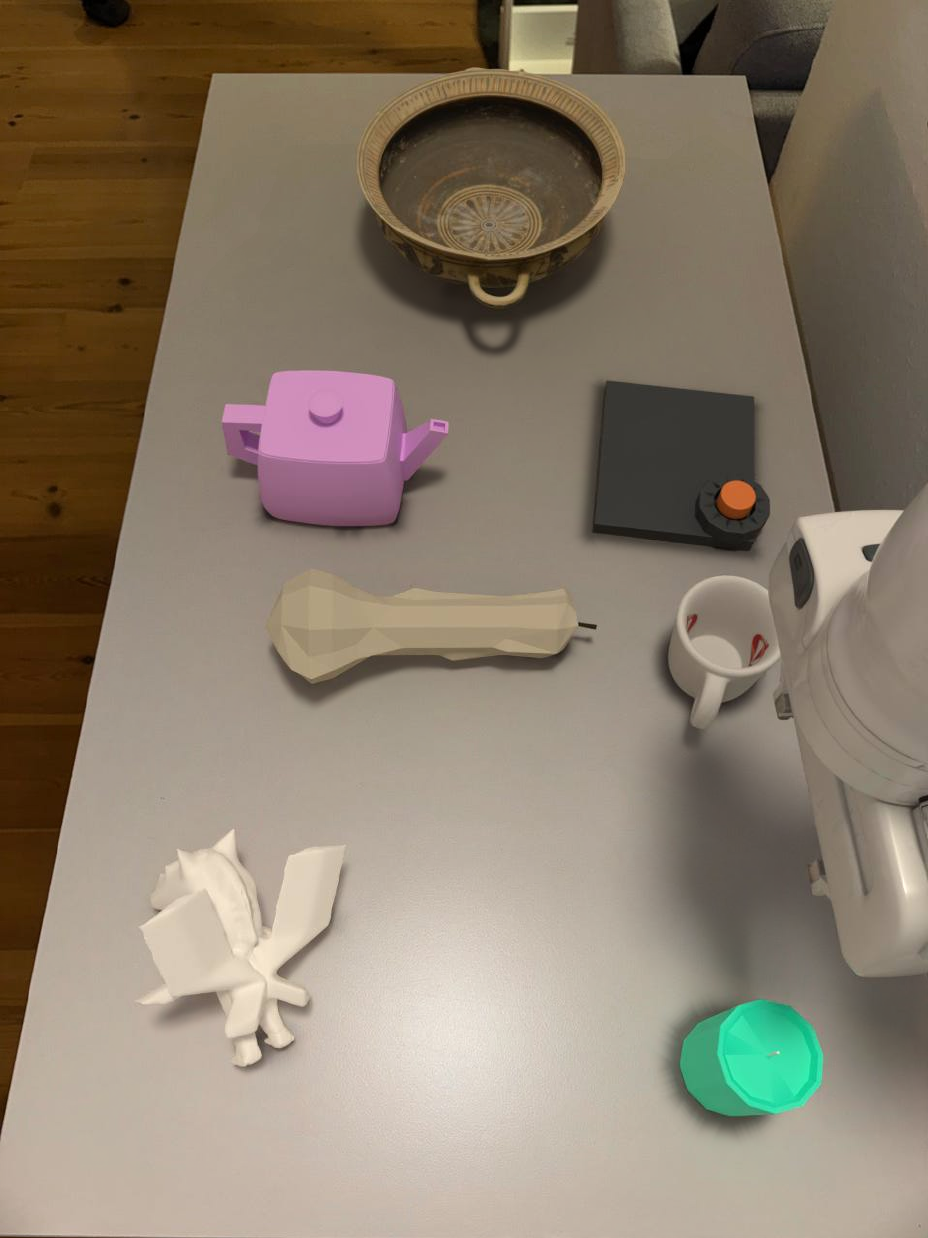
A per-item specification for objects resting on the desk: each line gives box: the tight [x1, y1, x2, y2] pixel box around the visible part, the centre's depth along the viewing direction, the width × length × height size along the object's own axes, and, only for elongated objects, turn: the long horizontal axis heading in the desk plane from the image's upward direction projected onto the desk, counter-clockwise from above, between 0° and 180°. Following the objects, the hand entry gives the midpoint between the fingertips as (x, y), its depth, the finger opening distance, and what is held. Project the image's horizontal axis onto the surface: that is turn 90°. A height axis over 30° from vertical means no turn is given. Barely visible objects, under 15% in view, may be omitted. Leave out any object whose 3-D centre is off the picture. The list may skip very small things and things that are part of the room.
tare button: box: [717, 481, 756, 519], centre depth 83 cm, size 3×3×2 cm
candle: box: [679, 998, 824, 1117], centre depth 62 cm, size 6×6×12 cm
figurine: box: [133, 828, 347, 1068], centre depth 66 cm, size 15×12×14 cm
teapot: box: [221, 369, 450, 527], centre depth 83 cm, size 18×10×10 cm, turn 87°
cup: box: [667, 574, 781, 730], centre depth 75 cm, size 11×8×8 cm
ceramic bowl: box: [355, 66, 627, 309], centre depth 95 cm, size 30×24×10 cm
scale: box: [592, 380, 771, 551], centre depth 87 cm, size 14×15×3 cm
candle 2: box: [264, 567, 598, 685], centre depth 77 cm, size 9×8×25 cm
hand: (806, 790), depth 54 cm, fingers open, 8 cm apart
